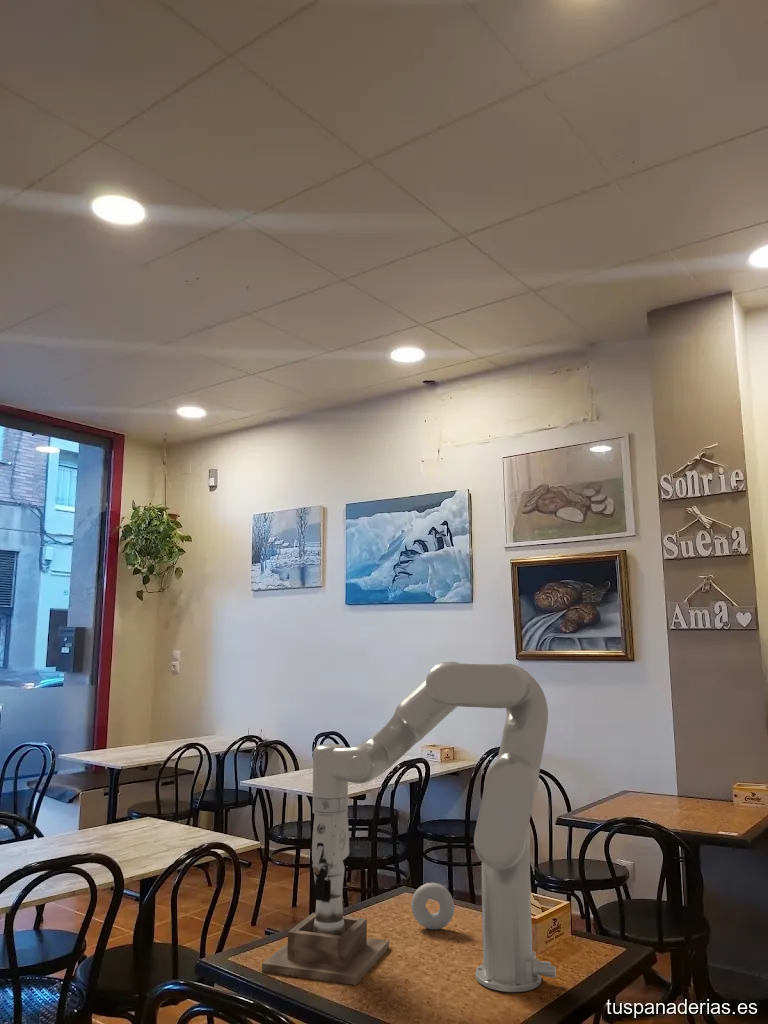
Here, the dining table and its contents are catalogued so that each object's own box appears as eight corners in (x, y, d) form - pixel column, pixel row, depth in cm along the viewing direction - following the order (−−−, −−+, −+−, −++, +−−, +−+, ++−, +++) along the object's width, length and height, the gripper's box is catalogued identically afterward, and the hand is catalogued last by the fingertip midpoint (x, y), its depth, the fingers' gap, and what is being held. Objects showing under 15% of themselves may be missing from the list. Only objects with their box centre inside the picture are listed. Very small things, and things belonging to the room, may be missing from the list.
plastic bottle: (340, 950, 156) (341, 845, 159) (308, 948, 157) (309, 844, 161) (348, 939, 162) (348, 838, 166) (317, 937, 163) (318, 837, 167)
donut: (410, 930, 176) (410, 883, 177) (412, 925, 179) (412, 879, 181) (454, 933, 174) (453, 886, 176) (455, 928, 177) (454, 881, 179)
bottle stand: (388, 947, 165) (388, 915, 166) (356, 985, 147) (356, 948, 148) (303, 937, 171) (304, 905, 173) (261, 971, 153) (262, 936, 154)
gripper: (330, 813, 155) (329, 910, 152) (360, 798, 171) (360, 885, 168) (296, 811, 158) (295, 906, 154) (329, 796, 174) (328, 882, 170)
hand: (329, 894), depth 161 cm, fingers closed on plastic bottle, 6 cm apart
